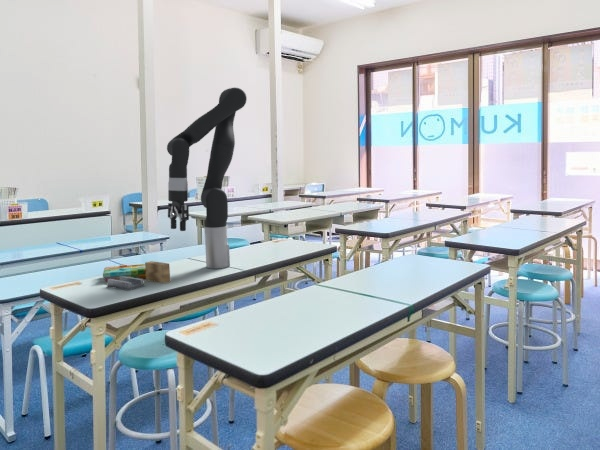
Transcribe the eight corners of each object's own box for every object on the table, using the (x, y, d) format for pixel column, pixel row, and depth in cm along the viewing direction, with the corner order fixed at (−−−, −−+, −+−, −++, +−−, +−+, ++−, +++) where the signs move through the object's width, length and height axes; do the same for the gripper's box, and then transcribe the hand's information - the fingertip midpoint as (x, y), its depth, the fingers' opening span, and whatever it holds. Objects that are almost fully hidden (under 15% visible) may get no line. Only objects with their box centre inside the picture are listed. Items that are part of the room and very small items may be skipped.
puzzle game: (104, 265, 202) (156, 261, 208) (105, 277, 203) (157, 272, 209) (102, 271, 191) (157, 266, 197) (103, 283, 192) (158, 278, 198)
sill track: (107, 286, 186) (106, 279, 186) (123, 282, 192) (122, 275, 192) (128, 290, 180) (127, 283, 179) (144, 286, 186) (143, 279, 185)
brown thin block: (146, 280, 195) (145, 262, 194) (152, 278, 197) (151, 261, 196) (164, 283, 189) (163, 265, 188) (170, 281, 191) (169, 263, 190)
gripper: (194, 190, 200) (194, 231, 201) (179, 188, 211) (179, 227, 212) (176, 190, 195) (177, 232, 197) (161, 188, 206) (161, 228, 208)
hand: (178, 229), depth 205 cm, fingers open, 8 cm apart
